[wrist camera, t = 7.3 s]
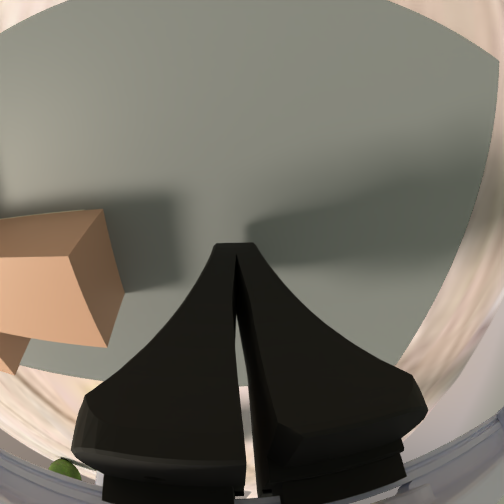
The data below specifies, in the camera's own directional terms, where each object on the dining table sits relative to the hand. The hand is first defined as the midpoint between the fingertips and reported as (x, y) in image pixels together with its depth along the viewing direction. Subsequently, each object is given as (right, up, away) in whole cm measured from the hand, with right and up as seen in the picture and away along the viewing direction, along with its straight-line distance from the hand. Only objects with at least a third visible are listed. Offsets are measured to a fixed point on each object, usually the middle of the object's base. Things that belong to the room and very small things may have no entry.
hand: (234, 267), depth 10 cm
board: (-6, +1, +1) cm, 6 cm away
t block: (-11, 0, 0) cm, 11 cm away
